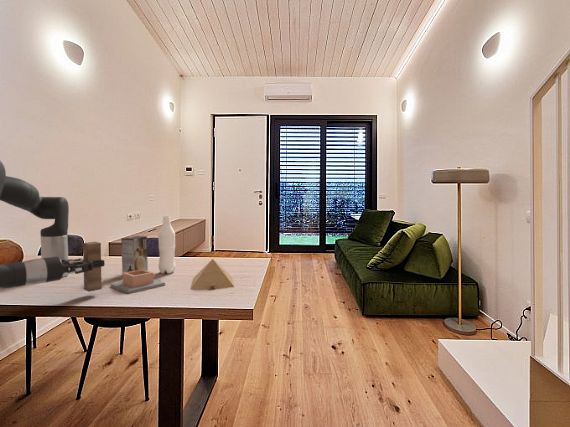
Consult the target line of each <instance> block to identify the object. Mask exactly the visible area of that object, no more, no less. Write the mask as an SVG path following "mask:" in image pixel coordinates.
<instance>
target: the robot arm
mask: <svg viewBox="0 0 570 427" xmlns="http://www.w3.org/2000/svg"><path fill="white" fill-rule="evenodd" d="M6 174H7V173H6V167H5V165H4V164H3V162H2V161H1V160H0V201H2V202H4V203H6V204H8V205H11V206H13V207H16V208H19V209H22V210H23V211H27V212H29V213H31V215H34V216H35V217H37V218H38V219H41V220H54V222H53V224H51V225H50V226H48V227H44V228H41V229H40V234H39V236H40V257H41V258H35V259H34V258H33V259H28V260H24V261H19V262H17V261H16V262H8V263H4V264H3V263H2V264H0V288H1V289H10V288H16V287H21V286H30V285H31V286H32V285H33V286H34V285H39V284H45V283H50V282H57V281H60V280H61V279H62V278H65V277H67V276H69V275H71V274H76V275H78V274H82V273H83V274H84V272H87V271H91V270H93V268H97V267H101V268H103V267H105V260H104V259H101V260H98V261H88V262H84V261H83V258H72V259H71V258H70V259H69V243H68V242H69V241H68V237H69V236H68V230H69V212H70V211H69V208H70V207H69V202H68V200H67V198H66V197H64V196H63V197H62V196H61V197H60V196H40V192H39V190H38V189H37V187H35V186H34V185H33V184H32V183H29V182H27V181H26V180H23V179H21V178H17V177H13V176H8V175H6ZM87 265H89V267H87Z"/></svg>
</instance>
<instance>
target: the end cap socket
mask: <svg viewBox="0 0 570 427" xmlns="http://www.w3.org/2000/svg"><path fill="white" fill-rule="evenodd" d="M154 274H155V273H154V272H153V271H149V270H148V271H147V270H143V269H142V270H137V271H131V272H125V273H122V277H121V278H122V281H118V282H113V283H110V287H111V288H113V289H117V290H119V291H122V292H124V293H126V294H133V293H137V292H142V291H145V290H150V289H156V288H158V287H163V286H166V282H164V281H161V280H158V279H155V278H154V277H155V275H154Z"/></svg>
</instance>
